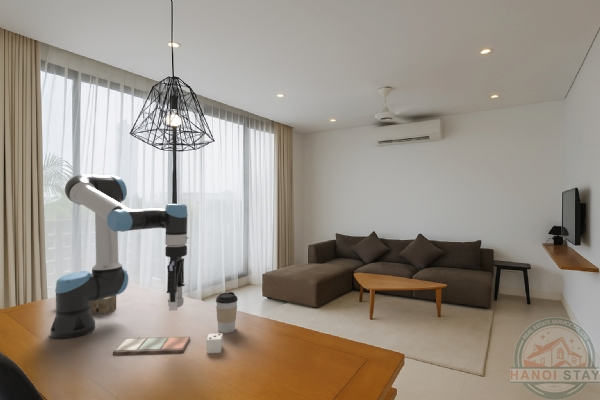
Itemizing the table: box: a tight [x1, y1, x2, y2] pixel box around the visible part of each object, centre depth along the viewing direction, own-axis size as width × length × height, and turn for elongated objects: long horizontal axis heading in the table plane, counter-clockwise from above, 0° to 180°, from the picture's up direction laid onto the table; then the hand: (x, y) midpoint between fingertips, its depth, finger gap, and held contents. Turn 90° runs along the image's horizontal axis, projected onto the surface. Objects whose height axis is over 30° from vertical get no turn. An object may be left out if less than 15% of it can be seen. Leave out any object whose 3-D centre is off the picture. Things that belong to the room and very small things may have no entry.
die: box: [206, 332, 224, 354], centre depth 120 cm, size 5×5×5 cm
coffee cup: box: [215, 291, 238, 334], centre depth 138 cm, size 9×9×15 cm
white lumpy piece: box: [167, 286, 185, 308], centre depth 122 cm, size 5×7×8 cm
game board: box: [112, 336, 191, 356], centre depth 122 cm, size 24×11×1 cm, turn 96°
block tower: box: [90, 295, 117, 315], centre depth 161 cm, size 8×8×29 cm
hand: (175, 306), depth 122 cm, fingers closed on white lumpy piece, 6 cm apart
